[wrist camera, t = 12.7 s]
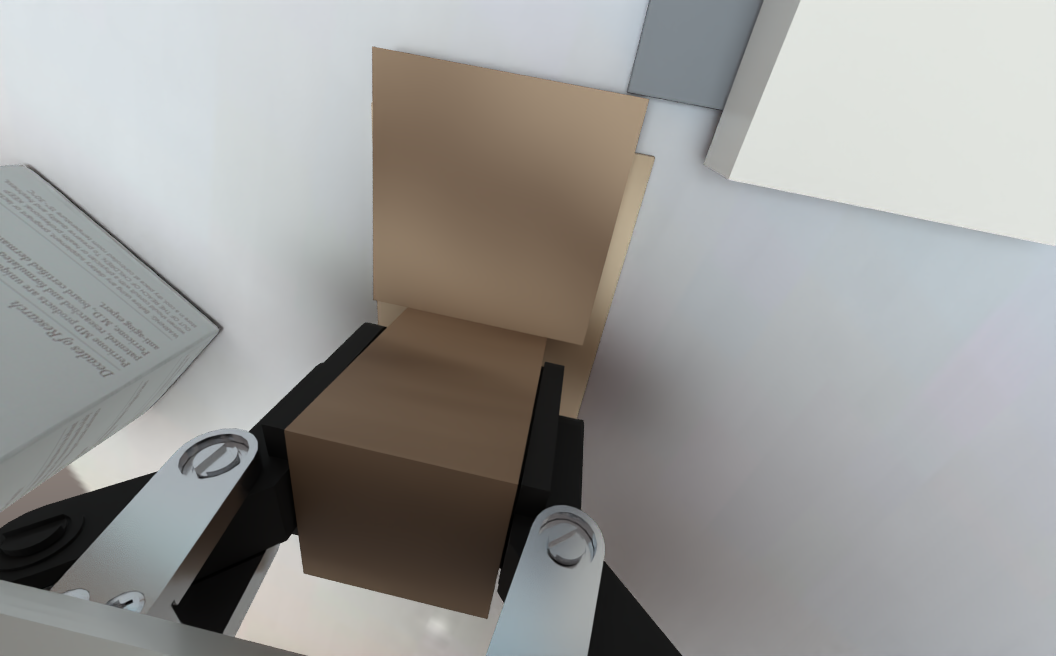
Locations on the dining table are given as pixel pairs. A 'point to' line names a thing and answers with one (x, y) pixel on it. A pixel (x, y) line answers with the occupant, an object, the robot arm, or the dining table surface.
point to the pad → (582, 356)
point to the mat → (692, 49)
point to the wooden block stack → (457, 321)
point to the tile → (901, 109)
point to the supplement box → (76, 333)
